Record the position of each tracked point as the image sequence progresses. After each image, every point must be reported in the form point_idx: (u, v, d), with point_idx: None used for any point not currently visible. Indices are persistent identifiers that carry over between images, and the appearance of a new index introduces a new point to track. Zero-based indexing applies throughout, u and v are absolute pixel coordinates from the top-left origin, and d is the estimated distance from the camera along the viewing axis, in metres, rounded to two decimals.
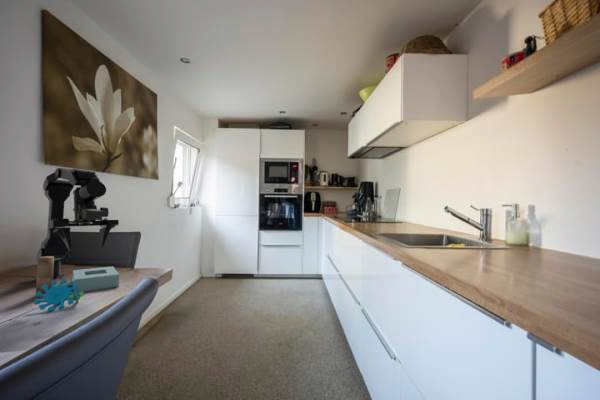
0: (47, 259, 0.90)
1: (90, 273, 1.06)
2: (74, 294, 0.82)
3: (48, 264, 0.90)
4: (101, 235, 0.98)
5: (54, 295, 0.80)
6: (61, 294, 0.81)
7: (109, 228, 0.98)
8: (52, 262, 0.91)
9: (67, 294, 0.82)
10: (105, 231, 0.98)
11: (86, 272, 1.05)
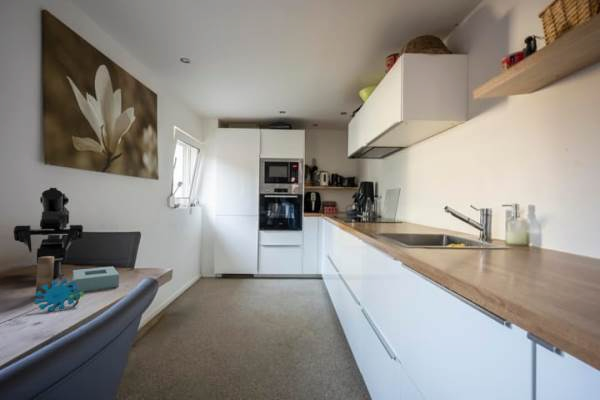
0: (47, 259, 0.90)
1: (90, 273, 1.06)
2: (74, 294, 0.82)
3: (48, 264, 0.90)
4: None
5: (54, 295, 0.80)
6: (61, 294, 0.81)
7: (72, 232, 1.03)
8: (52, 262, 0.91)
9: (67, 294, 0.82)
10: (68, 235, 1.02)
11: (86, 272, 1.05)
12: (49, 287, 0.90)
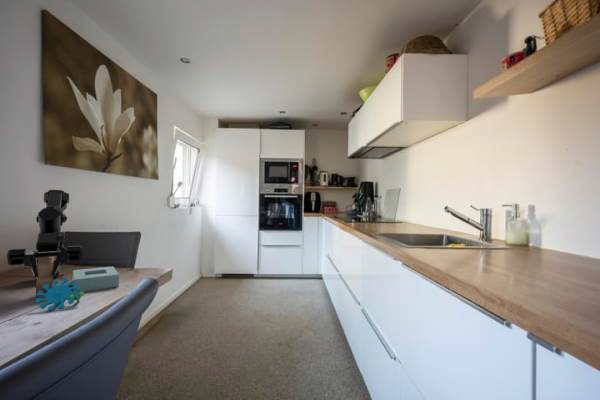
0: (47, 259, 0.90)
1: (90, 273, 1.06)
2: (74, 294, 0.83)
3: (48, 264, 0.90)
4: (55, 265, 0.94)
5: (55, 294, 0.80)
6: (62, 294, 0.81)
7: (61, 255, 0.94)
8: (52, 262, 0.91)
9: (68, 294, 0.82)
10: (57, 259, 0.93)
11: (86, 272, 1.05)
12: (49, 287, 0.90)
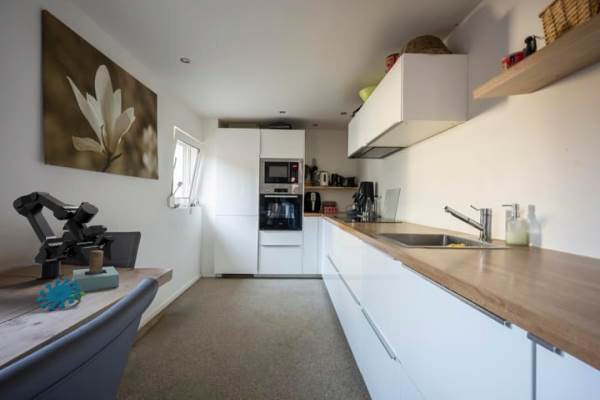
0: (101, 252, 1.04)
1: None
2: (75, 293, 0.83)
3: (102, 257, 1.05)
4: (104, 252, 1.09)
5: (56, 294, 0.81)
6: (63, 293, 0.82)
7: (110, 243, 1.11)
8: (102, 255, 1.06)
9: (68, 293, 0.82)
10: (107, 246, 1.10)
11: (86, 272, 1.05)
12: None
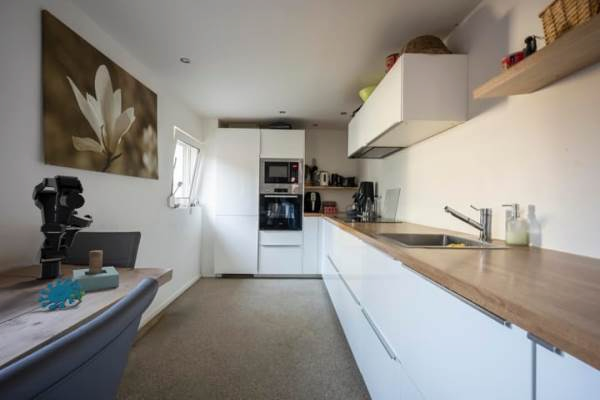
0: (101, 252, 1.04)
1: None
2: (75, 293, 0.83)
3: (101, 257, 1.05)
4: (68, 236, 1.09)
5: (57, 293, 0.81)
6: (63, 293, 0.82)
7: None
8: (102, 255, 1.06)
9: (69, 293, 0.82)
10: (75, 233, 1.10)
11: (86, 272, 1.05)
12: None
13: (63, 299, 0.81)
